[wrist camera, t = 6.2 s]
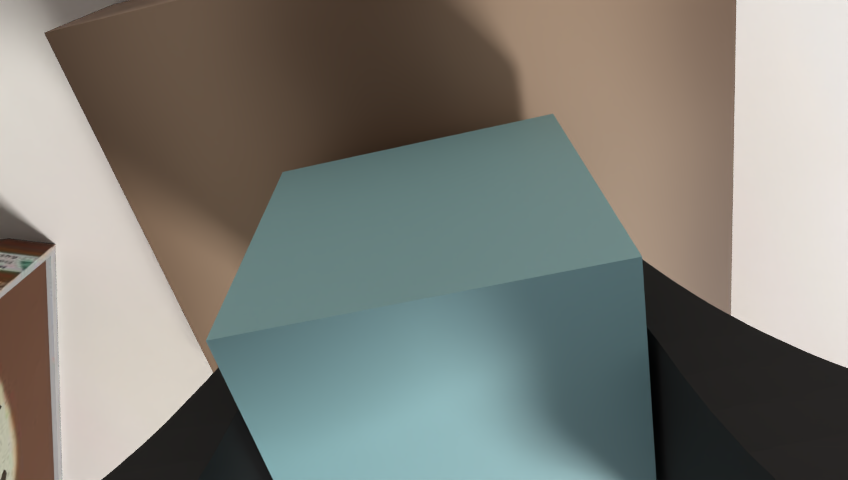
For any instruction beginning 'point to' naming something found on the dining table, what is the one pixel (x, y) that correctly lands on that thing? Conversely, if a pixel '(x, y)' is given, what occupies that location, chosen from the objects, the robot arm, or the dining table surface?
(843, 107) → the dining table surface
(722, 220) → the walnut base
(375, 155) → the teal cube
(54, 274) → the food container
